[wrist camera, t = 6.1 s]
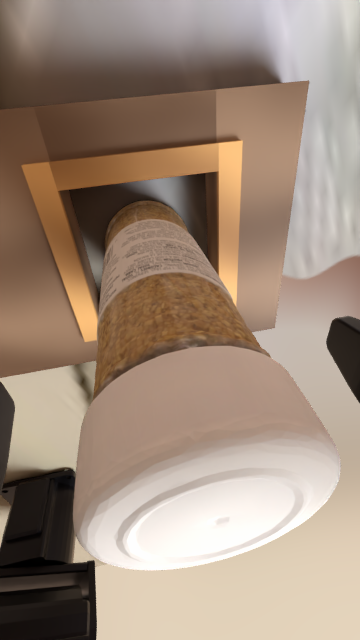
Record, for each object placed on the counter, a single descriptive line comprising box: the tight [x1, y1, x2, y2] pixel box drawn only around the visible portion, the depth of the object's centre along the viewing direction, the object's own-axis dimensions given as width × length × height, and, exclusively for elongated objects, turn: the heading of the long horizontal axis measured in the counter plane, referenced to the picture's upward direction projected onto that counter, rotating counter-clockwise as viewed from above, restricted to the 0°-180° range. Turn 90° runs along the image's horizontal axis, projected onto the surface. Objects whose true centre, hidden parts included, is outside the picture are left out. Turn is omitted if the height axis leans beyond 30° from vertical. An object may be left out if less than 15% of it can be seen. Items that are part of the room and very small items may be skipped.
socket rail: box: [0, 81, 309, 378], centre depth 14 cm, size 12×26×2 cm, turn 95°
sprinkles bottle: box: [73, 200, 341, 570], centre depth 10 cm, size 5×5×14 cm
